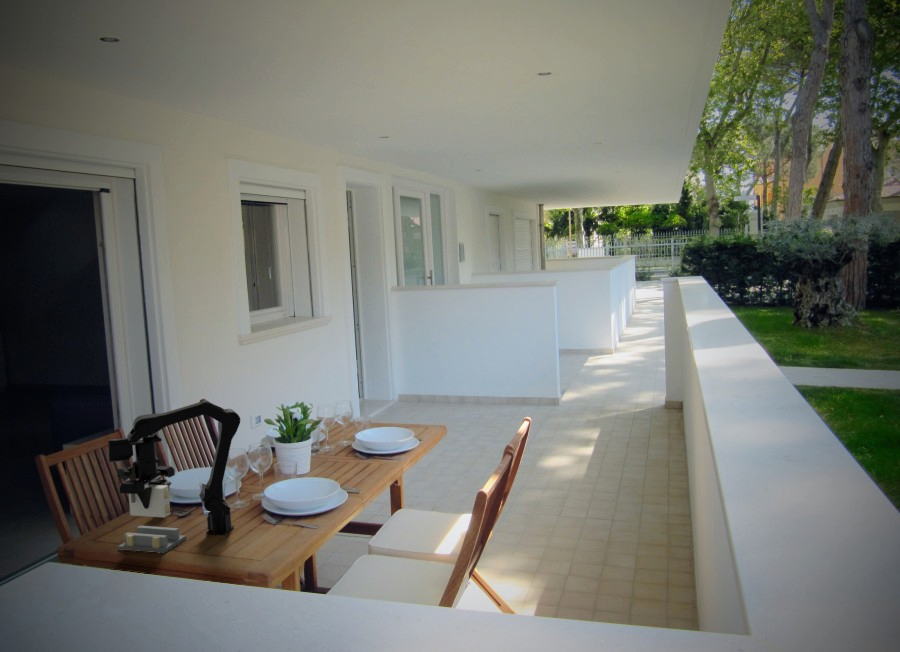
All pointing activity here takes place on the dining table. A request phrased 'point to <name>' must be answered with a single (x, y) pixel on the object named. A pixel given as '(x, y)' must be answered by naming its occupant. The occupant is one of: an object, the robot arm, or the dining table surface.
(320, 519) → the dining table surface
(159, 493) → the white rectangular block
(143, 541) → the clip plinth
